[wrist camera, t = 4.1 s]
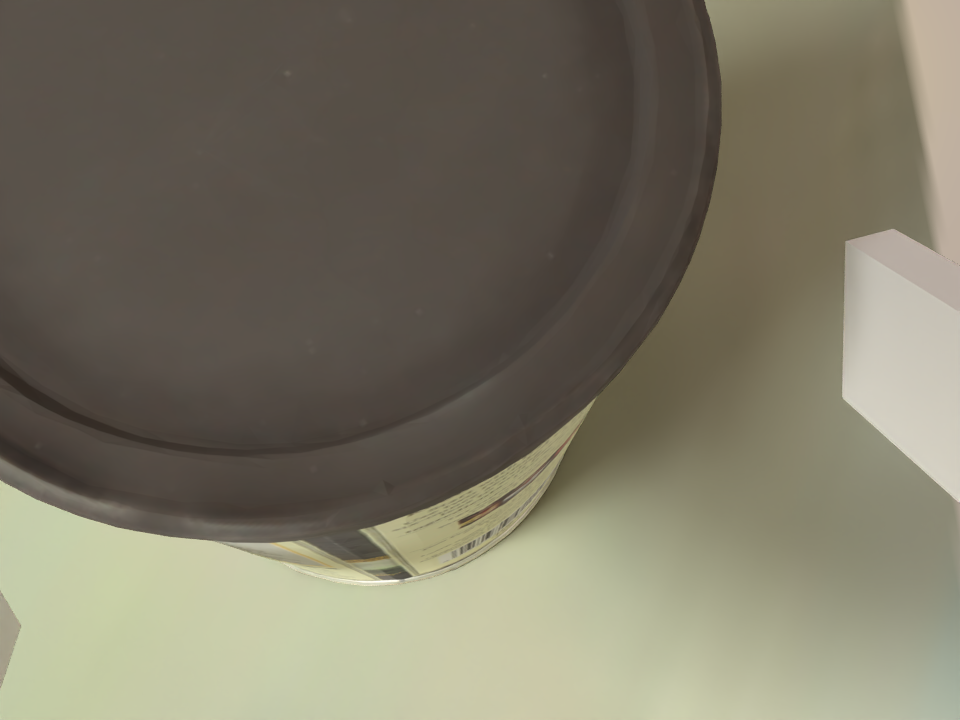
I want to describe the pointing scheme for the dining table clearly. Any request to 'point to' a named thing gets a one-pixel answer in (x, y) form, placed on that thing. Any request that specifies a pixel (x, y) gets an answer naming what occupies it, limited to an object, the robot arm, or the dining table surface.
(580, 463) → the dining table surface
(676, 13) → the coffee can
